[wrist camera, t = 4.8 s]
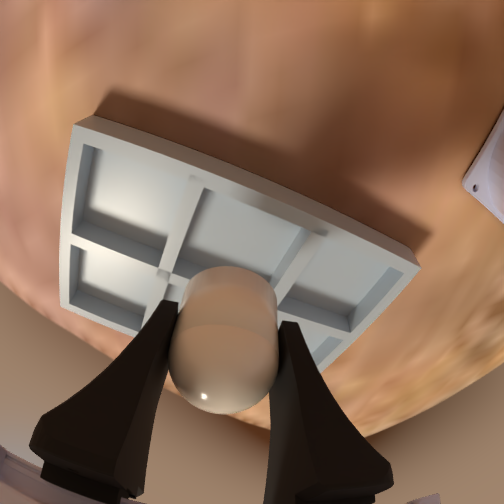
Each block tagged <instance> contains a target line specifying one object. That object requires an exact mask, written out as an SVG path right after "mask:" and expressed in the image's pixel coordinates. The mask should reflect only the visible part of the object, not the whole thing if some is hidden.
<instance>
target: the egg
mask: <svg viewBox="0 0 504 504" xmlns="http://www.w3.org/2000/svg"><path fill="white" fill-rule="evenodd" d="M168 367H169V373H170V376H171V378H172V381H173V383H174V385H175V387H176V388H177V390H178V391H179V392H180V394H181V395H182V396H183V397H184V398H185V399H186V400H187V401H189V402H190V403H191V404H192V405H194V406H196V407H197V408H199V409H202V410H204V411H207V412H211V413H216V414H233V413H238V412H241V411H244V410H247V409H249V408H251V407H252V406H254V405H256V404H257V403H258V402H260V401H261V400H262V399H263V398H264V397H265V396H266V395H267V394H268V392H269V391H270V389H271V388H272V386H273V384H274V382H275V379H276V377H277V373H278V367H279V344H278V313H277V297H276V294H275V291H274V289H273V288H272V286H271V285H270V284H269V283H268V282H267V281H266V280H265V279H264V278H263V277H261V276H260V275H258V274H256V273H254V272H252V271H250V270H247V269H244V268H239V267H233V266H219V267H213V268H209V269H206V270H204V271H202V272H200V273H198V274H196V275H195V276H194V277H193V278H191V280H190V281H189V282H188V284H187V285H186V288H185V290H184V294H183V297H182V301H181V305H180V308H179V312H178V316H177V320H176V323H175V327H174V331H173V335H172V338H171V342H170V346H169V351H168Z"/></svg>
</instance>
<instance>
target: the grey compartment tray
mask: <svg viewBox="0 0 504 504" xmlns="http://www.w3.org/2000/svg"><path fill="white" fill-rule="evenodd" d="M219 266H233V267H239V268H244V269H247V270H250V271H252V272H254V273H256V274H258V275H260V276H261V277H263V278H264V279H265V280H266V281H267V282H268V283H269V284H270V285H271V286H272V288H273V289H274V291H275V294H276V297H277V313H278V330H279V327H280V325H281V322H282V320H284V321H291V322H297V323H298V324H299V326H300V329H301V331H302V334H303V337H304V339H305V341H306V344H307V346H308V349H309V351H310V353H311V355H312V358H313V360H314V362H315V364H316V366H317V368H318V370H319V372H320V373H321V372H322V371H323V370H324V369H325V368H327V367H328V366H329V365H330V364H331V363H332V362H333V361H334V360H335V359H336V358H337V357H338V356H339V355H340V354H342V353H343V352H344V351H345V350H346V349H347V348H348V347H349V346H350V345H351V344H352V343H353V342H354V341H355V340H356V339H357V338H358V337H359V336H360V335H361V334H362V333H363V332H364V331H365V330H366V329H367V328H368V327H369V326H370V325H371V324H372V323H373V322H374V321H375V320H376V318H377V317H378V316H379V315H380V314H381V313H382V312H383V311H384V310H385V309H386V308H387V307H388V306H389V305H390V303H391V302H392V301H393V300H394V299H395V298H396V297H397V296H398V295H399V293H400V292H401V291H402V290H403V289H404V288H405V287H406V286H407V284H408V283H409V282H410V281H411V280H412V279H413V277H414V276H415V275H416V274H417V273H418V271H419V270H420V269H421V266H420V264H419V263H418V261H417V259H416V257H415V256H414V254H413V252H412V251H411V249H410V248H409V247H407V246H405V245H403V244H401V243H399V242H398V241H396V240H394V239H392V238H390V237H388V236H386V235H384V234H382V233H380V232H378V231H376V230H374V229H372V228H370V227H368V226H366V225H364V224H362V223H360V222H358V221H356V220H354V219H352V218H350V217H348V216H346V215H344V214H342V213H340V212H338V211H336V210H334V209H332V208H330V207H327V206H325V205H323V204H321V203H319V202H317V201H315V200H312V199H310V198H308V197H306V196H304V195H302V194H299V193H297V192H295V191H293V190H290V189H288V188H286V187H284V186H281V185H279V184H277V183H275V182H272V181H270V180H268V179H265V178H263V177H261V176H258V175H256V174H254V173H251V172H249V171H246V170H244V169H242V168H239V167H237V166H234V165H232V164H229V163H227V162H224V161H222V160H219V159H217V158H214V157H212V156H209V155H207V154H204V153H201V152H199V151H196V150H194V149H191V148H188V147H186V146H183V145H180V144H178V143H175V142H172V141H169V140H167V139H164V138H161V137H158V136H155V135H153V134H150V133H147V132H144V131H141V130H138V129H135V128H132V127H129V126H126V125H123V124H120V123H117V122H114V121H111V120H108V119H105V118H101V117H98V116H95V115H91V116H89V117H87V118H85V119H83V120H81V121H79V122H77V123H75V124H73V129H72V134H71V140H70V146H69V152H68V158H67V165H66V173H65V181H64V190H63V200H62V211H61V227H60V252H59V285H60V306H61V307H63V308H65V309H67V310H69V311H72V312H74V313H76V314H78V315H81V316H83V317H85V318H88V319H90V320H92V321H95V322H97V323H100V324H102V325H104V326H107V327H109V328H112V329H114V330H117V331H120V332H122V333H125V334H127V335H130V336H133V337H135V336H136V335H137V334H138V332H139V331H140V330H141V329H142V327H143V326H144V325H145V323H146V322H147V321H148V319H149V318H150V317H151V315H152V314H153V312H154V311H155V309H156V308H157V306H158V304H159V303H160V301H161V300H163V299H164V300H169V301H174V302H179V304H178V312H179V308H180V305H181V301H182V297H183V294H184V290H185V288H186V285H187V284H188V282H189V281H190V280H191V278H193V277H194V276H195V275H196V274H198V273H200V272H202V271H204V270H206V269H209V268H213V267H219Z"/></svg>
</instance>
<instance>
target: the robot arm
mask: <svg viewBox="0 0 504 504" xmlns="http://www.w3.org/2000/svg"><path fill="white" fill-rule="evenodd" d="M475 184H476V186H475V188H474V189H473V186H474V185H475ZM462 186H463V187H464V189H465V190H467V191H468V192H469V193H470V194H471V195H472V196H474V197H475V198H476V199H477V200H478V201H479V202H481V203H482V204H483V205H484V206H485V207H486V208H487V209H488V210H490V211H491V212H492V213H493V214H494V215H495V216H496V217H497V218H498V219H499V220H500V221H501V222H502V223H503V224H504V110H503V112H502V113H501V115H500V117H499V119H498V121H497V123H496V125H495V126H494V128H493V130H492V132H491V133H490V135H489V137H488V139H487V140H486V142H485V144H484V146H483V147H482V149H481V151H480V152H479V154H478V156H477V157H476V159H475V160H474V162H473V164H472V165H471V167H470V168H469V170H468V172H467V173H466V175H465V176H464V178H463V180H462ZM178 304H179V302H174V301H169V300H164V299H163V300H161V301H160V303H159V304H158V306H157V308H156V309H155V311H154V312H153V314H152V315H151V317H150V318H149V319H148V321H147V322H146V323H145V325H144V326H143V327H142V329H141V330H140V331H139V332H138V334H137V335H136V336H135V338H134V339H133V340H132V341H131V342H130V343H129V345H128V346H127V347H126V348H125V349H124V350H123V351H122V352H121V354H120V355H119V356H118V357H117V358H116V359H115V360H114V361H113V362H112V363H111V364H110V365H109V366H108V367H107V368H106V369H105V370H104V371H103V372H102V373H101V374H99V375H98V376H97V377H96V378H95V379H94V380H93V381H91V382H90V383H89V384H88V385H86V386H85V387H84V388H83V389H81V390H80V391H79V392H77V393H76V394H75V395H73V396H72V397H70V398H69V399H68V400H66V401H65V402H63V403H62V404H60V405H59V406H57V407H55V408H54V409H52V410H50V411H49V412H47V413H46V414H44V415H42V417H41V418H40V420H39V422H38V424H37V425H36V427H35V429H34V432H33V435H32V438H31V440H30V444H29V447H30V449H31V450H32V451H33V452H34V453H35V454H36V455H38V456H39V457H40V458H41V459H43V460H44V464H43V468H40V467H38V466H36V465H34V464H31V463H30V462H28V461H26V460H24V459H22V458H20V457H18V456H16V455H14V454H12V453H10V452H9V451H7V450H6V449H5V448H4V447H2V446H1V445H0V504H145V503H141V502H137V501H133V500H129V499H128V498H129V497H130V498H133V499H136V497H138V496H140V495H142V494H143V493H144V484H145V476H146V467H147V461H148V454H149V447H150V441H151V435H152V429H153V423H154V418H155V413H156V409H157V405H158V401H159V398H160V395H161V391H162V389H163V385H164V382H165V379H166V376H167V373H168V370H169V367H168V351H169V346H170V342H171V338H172V335H173V331H174V327H175V323H176V320H177V316H178ZM278 344H279V367H278V373H277V377H276V379H275V382H274V384H273V386H272V388H271V389H270V391H269V400H270V419H271V431H270V447H269V459H268V470H267V479H266V488H265V494H264V502H263V504H372V503H374V502H375V494H377V493H380V492H382V491H385V490H387V489H389V488H391V487H392V486H393V485H394V481H393V474H392V469H391V465H390V463H389V462H388V461H387V460H386V459H385V458H384V457H382V456H381V455H380V454H379V453H378V452H377V451H376V450H375V449H374V448H373V447H372V446H371V445H370V444H369V443H368V442H367V441H366V439H365V438H364V437H363V436H362V435H361V434H360V433H359V431H358V430H357V429H356V428H355V426H354V425H353V424H352V423H351V422H350V420H349V419H348V418H347V416H346V415H345V414H344V412H343V411H342V409H341V408H340V406H339V405H338V403H337V402H336V400H335V399H334V397H333V396H332V394H331V392H330V390H329V389H328V387H327V385H326V383H325V382H324V380H323V378H322V376H321V374H320V372H319V370H318V368H317V366H316V364H315V362H314V360H313V358H312V355H311V353H310V351H309V349H308V346H307V344H306V341H305V339H304V337H303V334H302V331H301V329H300V326H299V324H298V323H297V322H291V321H284V320H282V322H281V325H280V327H279V330H278ZM406 504H441V503H440V497H439V494H438V493H436V494H433V495H429V496H426V497H422V498H419V499H416V500H413V501H410V502H407V503H406Z"/></svg>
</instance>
